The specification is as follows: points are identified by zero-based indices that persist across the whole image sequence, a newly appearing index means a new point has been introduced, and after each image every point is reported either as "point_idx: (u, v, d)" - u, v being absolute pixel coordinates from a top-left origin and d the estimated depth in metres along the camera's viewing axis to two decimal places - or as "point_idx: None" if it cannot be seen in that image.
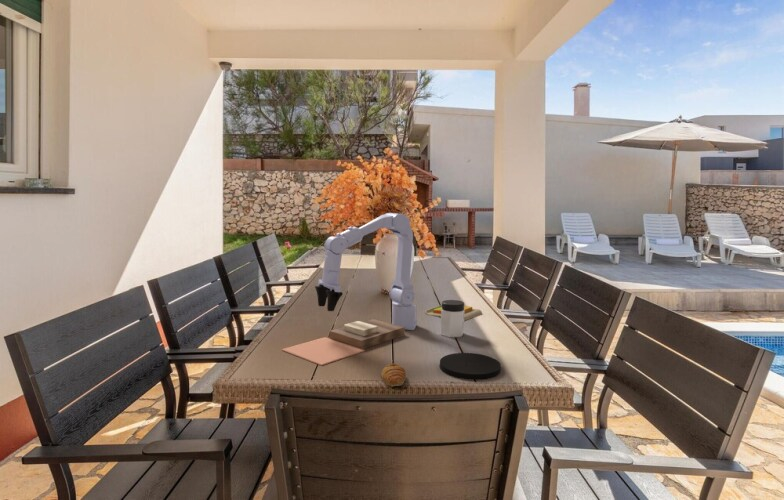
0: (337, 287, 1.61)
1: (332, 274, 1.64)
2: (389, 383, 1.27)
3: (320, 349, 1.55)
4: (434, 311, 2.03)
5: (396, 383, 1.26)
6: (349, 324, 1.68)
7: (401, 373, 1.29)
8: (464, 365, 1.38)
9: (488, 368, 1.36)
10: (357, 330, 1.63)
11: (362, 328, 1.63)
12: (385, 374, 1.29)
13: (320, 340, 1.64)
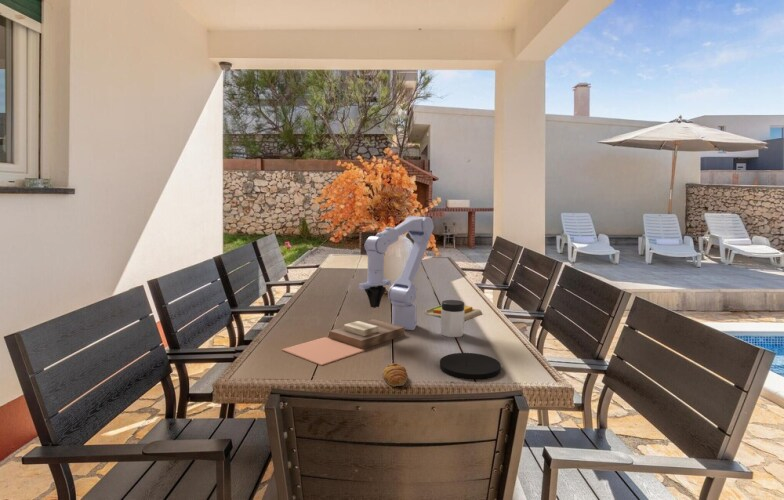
0: None
1: None
2: (391, 383, 1.27)
3: (320, 349, 1.55)
4: (434, 311, 2.03)
5: (398, 383, 1.26)
6: (349, 324, 1.68)
7: (403, 373, 1.29)
8: (464, 365, 1.38)
9: (488, 368, 1.36)
10: (357, 330, 1.63)
11: (362, 328, 1.63)
12: (387, 374, 1.29)
13: (320, 340, 1.64)
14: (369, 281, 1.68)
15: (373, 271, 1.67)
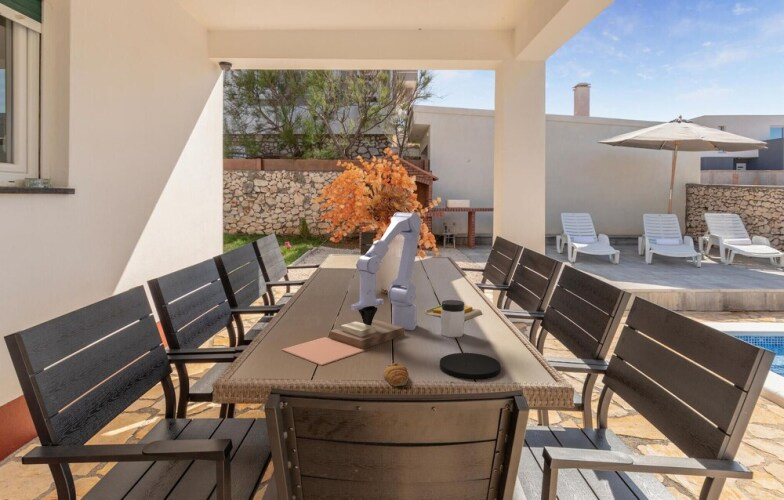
0: None
1: None
2: (392, 383, 1.27)
3: (320, 349, 1.55)
4: (434, 311, 2.03)
5: (400, 383, 1.26)
6: (347, 325, 1.67)
7: (404, 373, 1.29)
8: (464, 365, 1.38)
9: (488, 368, 1.36)
10: (354, 330, 1.62)
11: (359, 328, 1.62)
12: (388, 374, 1.30)
13: (320, 340, 1.64)
14: (361, 302, 1.66)
15: (365, 292, 1.65)
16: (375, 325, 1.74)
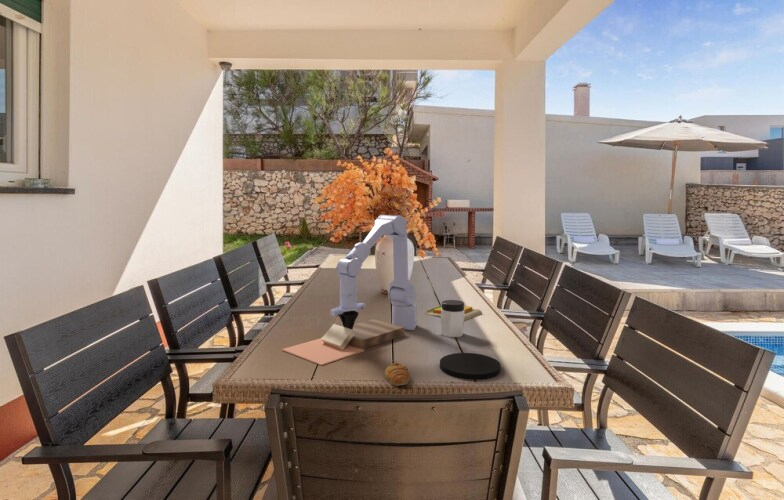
0: None
1: None
2: (393, 382, 1.27)
3: (320, 349, 1.55)
4: (434, 311, 2.03)
5: (401, 382, 1.26)
6: (326, 336, 1.60)
7: (405, 372, 1.30)
8: (464, 365, 1.38)
9: (488, 368, 1.36)
10: (334, 344, 1.56)
11: (338, 340, 1.56)
12: (389, 374, 1.30)
13: (320, 340, 1.64)
14: (341, 306, 1.59)
15: (345, 296, 1.58)
16: (375, 325, 1.74)
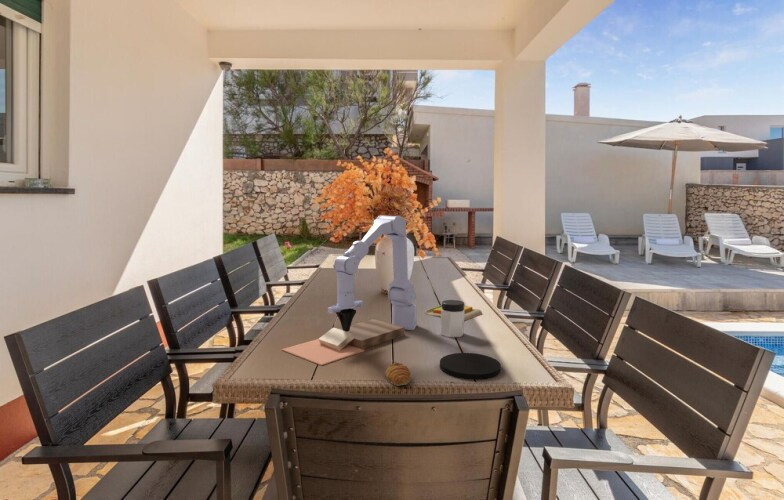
0: None
1: None
2: (395, 382, 1.27)
3: (320, 349, 1.55)
4: (434, 311, 2.03)
5: (402, 382, 1.26)
6: (324, 337, 1.60)
7: (406, 372, 1.30)
8: (464, 365, 1.38)
9: (488, 368, 1.36)
10: (331, 344, 1.55)
11: (336, 341, 1.55)
12: (390, 373, 1.30)
13: None
14: (339, 304, 1.58)
15: (343, 293, 1.57)
16: (375, 325, 1.74)
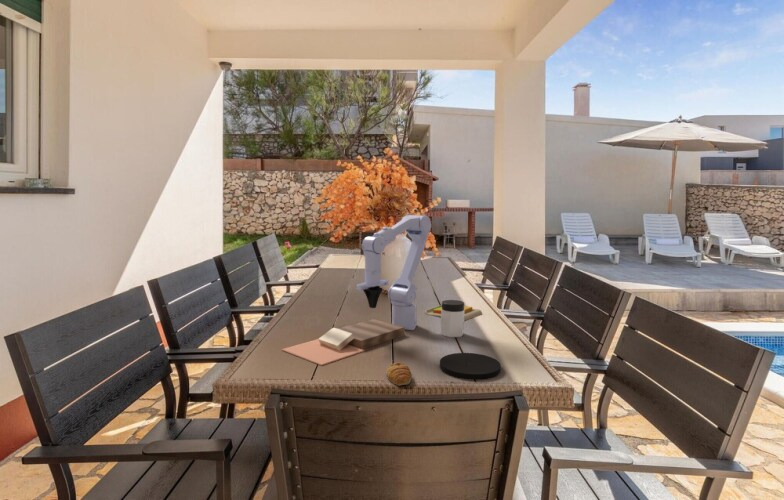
0: None
1: None
2: (396, 382, 1.27)
3: (320, 349, 1.55)
4: (434, 311, 2.03)
5: (404, 382, 1.27)
6: (324, 337, 1.60)
7: (407, 372, 1.30)
8: (464, 365, 1.38)
9: (488, 368, 1.36)
10: (331, 344, 1.55)
11: (336, 341, 1.55)
12: (391, 373, 1.30)
13: None
14: (366, 282, 1.67)
15: (370, 272, 1.66)
16: (375, 325, 1.74)
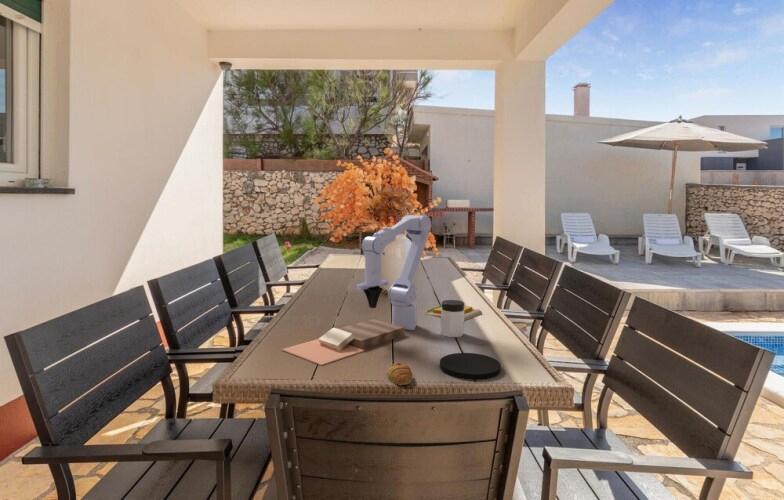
0: None
1: None
2: (397, 382, 1.27)
3: (320, 349, 1.55)
4: (434, 311, 2.03)
5: (405, 382, 1.27)
6: (324, 337, 1.60)
7: (408, 372, 1.30)
8: (464, 365, 1.38)
9: (488, 368, 1.36)
10: (331, 344, 1.55)
11: (336, 341, 1.55)
12: (392, 373, 1.30)
13: None
14: (366, 282, 1.67)
15: (370, 272, 1.66)
16: (375, 325, 1.74)
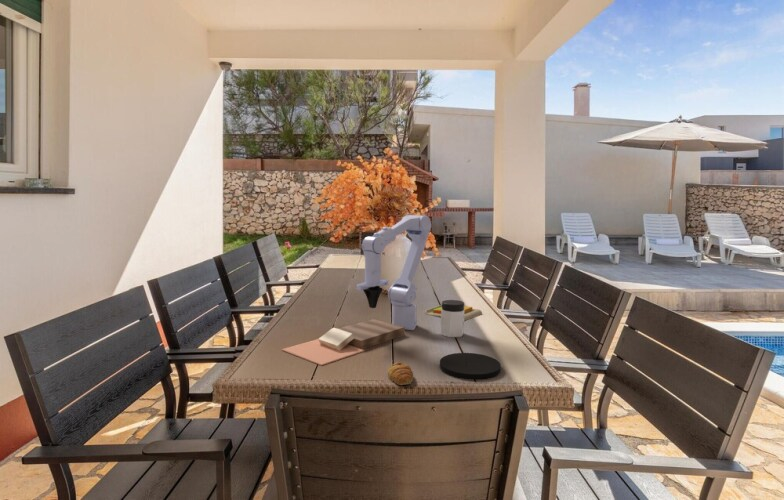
0: None
1: None
2: (398, 382, 1.27)
3: (320, 349, 1.55)
4: (434, 311, 2.03)
5: (406, 381, 1.27)
6: (324, 337, 1.60)
7: (409, 371, 1.30)
8: (464, 365, 1.38)
9: (488, 368, 1.36)
10: (331, 344, 1.55)
11: (336, 341, 1.55)
12: (393, 373, 1.30)
13: None
14: (366, 282, 1.67)
15: (370, 272, 1.66)
16: (375, 325, 1.74)
